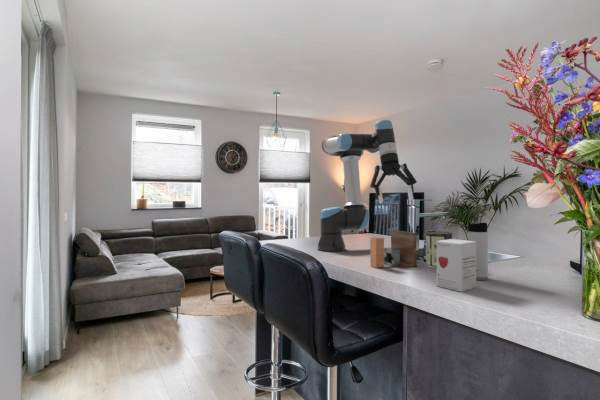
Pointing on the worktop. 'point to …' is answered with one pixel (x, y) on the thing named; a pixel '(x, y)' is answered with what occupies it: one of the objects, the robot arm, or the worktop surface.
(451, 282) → the supplement box
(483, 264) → the travel mug
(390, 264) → the grey thick square slab
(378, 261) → the upright wooden block
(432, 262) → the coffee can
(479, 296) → the worktop surface
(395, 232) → the backboard
